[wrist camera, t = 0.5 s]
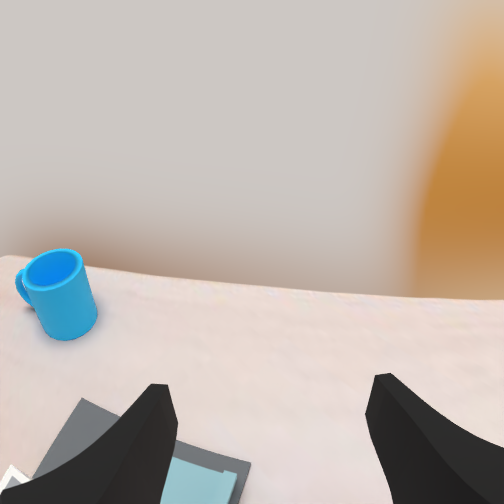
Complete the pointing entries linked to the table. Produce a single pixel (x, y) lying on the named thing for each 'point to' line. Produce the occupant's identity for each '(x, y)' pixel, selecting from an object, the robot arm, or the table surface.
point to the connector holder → (196, 484)
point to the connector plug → (13, 478)
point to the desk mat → (100, 420)
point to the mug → (59, 293)
